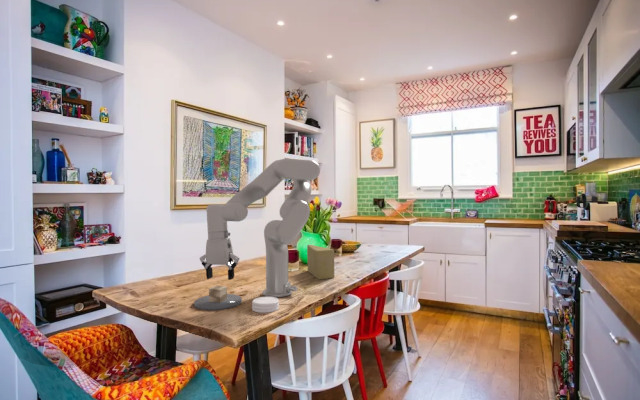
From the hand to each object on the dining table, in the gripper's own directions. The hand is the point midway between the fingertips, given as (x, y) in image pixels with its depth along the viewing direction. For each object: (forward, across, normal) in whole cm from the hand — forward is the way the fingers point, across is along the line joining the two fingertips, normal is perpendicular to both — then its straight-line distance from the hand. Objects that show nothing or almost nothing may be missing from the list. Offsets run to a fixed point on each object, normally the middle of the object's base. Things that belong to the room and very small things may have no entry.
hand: (220, 278), depth 143 cm
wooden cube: (+8, +1, +1) cm, 9 cm away
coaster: (+11, -20, +2) cm, 23 cm away
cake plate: (+10, +1, +1) cm, 10 cm away
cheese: (+12, -21, -58) cm, 63 cm away
